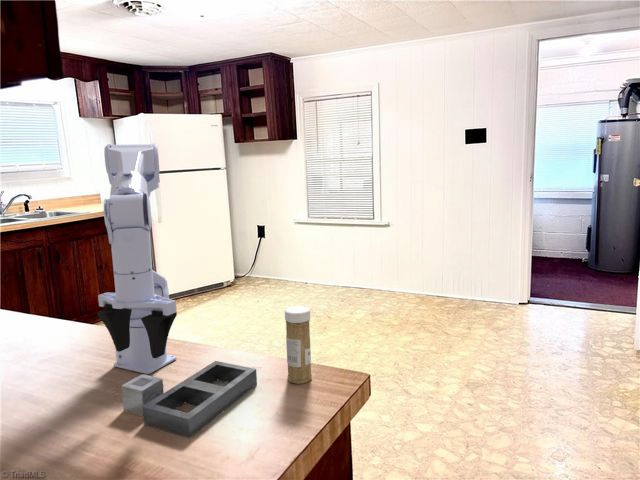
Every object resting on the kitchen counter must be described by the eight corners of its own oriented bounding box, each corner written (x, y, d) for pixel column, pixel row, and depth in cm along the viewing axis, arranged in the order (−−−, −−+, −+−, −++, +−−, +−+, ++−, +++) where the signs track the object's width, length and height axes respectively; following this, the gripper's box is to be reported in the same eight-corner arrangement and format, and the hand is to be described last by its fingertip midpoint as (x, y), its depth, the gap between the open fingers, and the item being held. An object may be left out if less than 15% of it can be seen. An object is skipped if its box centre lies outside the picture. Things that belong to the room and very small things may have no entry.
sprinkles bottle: (316, 380, 87) (315, 309, 85) (295, 387, 85) (292, 314, 82) (303, 371, 91) (301, 303, 89) (282, 377, 88) (280, 308, 86)
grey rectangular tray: (144, 424, 74) (142, 406, 73) (216, 375, 90) (215, 360, 89) (190, 438, 70) (188, 419, 69) (257, 384, 86) (256, 369, 85)
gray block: (123, 411, 78) (121, 385, 77) (144, 398, 82) (142, 373, 81) (144, 417, 76) (141, 390, 75) (164, 403, 80) (162, 378, 79)
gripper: (78, 272, 75) (87, 355, 77) (149, 279, 69) (157, 369, 71) (115, 263, 81) (122, 340, 83) (182, 269, 75) (188, 351, 77)
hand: (140, 352), depth 77 cm, fingers open, 7 cm apart
